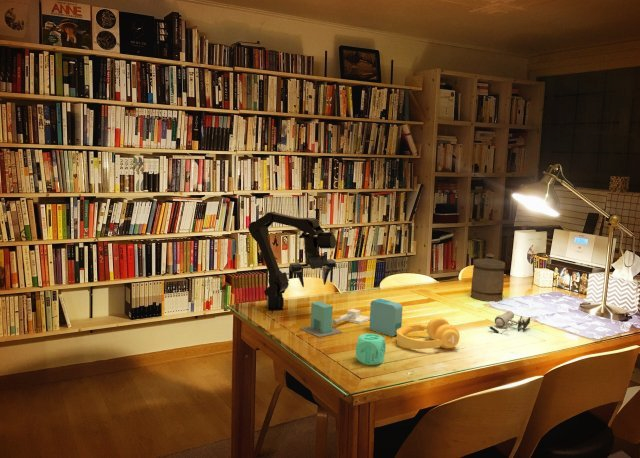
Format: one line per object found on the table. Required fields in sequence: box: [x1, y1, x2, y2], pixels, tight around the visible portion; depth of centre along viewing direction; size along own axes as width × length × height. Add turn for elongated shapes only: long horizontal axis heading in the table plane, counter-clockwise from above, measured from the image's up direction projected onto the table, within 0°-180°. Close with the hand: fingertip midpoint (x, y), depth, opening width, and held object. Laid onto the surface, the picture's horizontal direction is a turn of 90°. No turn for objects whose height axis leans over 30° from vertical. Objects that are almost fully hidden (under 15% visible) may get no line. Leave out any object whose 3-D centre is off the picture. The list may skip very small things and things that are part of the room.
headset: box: [396, 316, 460, 350], centre depth 200 cm, size 18×21×9 cm
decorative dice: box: [355, 333, 387, 366], centre depth 182 cm, size 8×8×8 cm
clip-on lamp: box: [487, 310, 531, 335], centre depth 221 cm, size 12×6×18 cm
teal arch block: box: [310, 300, 334, 334], centre depth 211 cm, size 8×4×10 cm, turn 37°
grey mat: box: [299, 325, 343, 338], centre depth 212 cm, size 12×11×1 cm
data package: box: [369, 298, 403, 337], centre depth 212 cm, size 12×4×12 cm, turn 47°
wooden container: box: [470, 253, 506, 302], centre depth 270 cm, size 15×15×22 cm
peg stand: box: [332, 308, 370, 325], centre depth 223 cm, size 10×19×4 cm, turn 145°
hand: (313, 285), depth 230 cm, fingers open, 9 cm apart
